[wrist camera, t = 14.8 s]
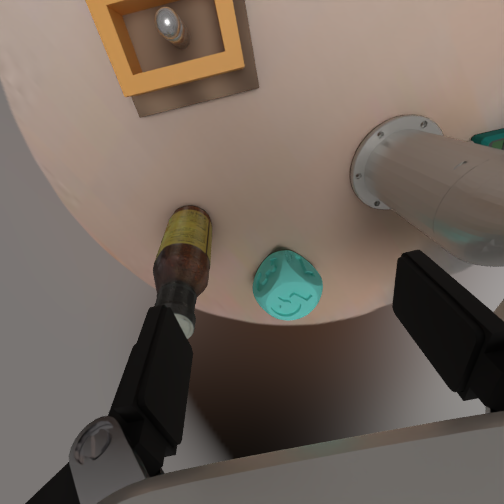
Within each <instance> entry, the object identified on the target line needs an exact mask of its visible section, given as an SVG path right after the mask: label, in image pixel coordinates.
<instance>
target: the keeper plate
mask: <svg viewBox="0 0 504 504" xmlns="http://www.w3.org/2000/svg"><path fill="white" fill-rule="evenodd" d="M233 5H234V11H235V16H236V22H237V27H238V33H239V38H240V43H241V49H242V54H243V60H244V65H245V67H244V68H243V69H240V70H236V71H232V72H228V73H224V74H220V75H216V76H212V77H208V78H204V79H201V80H197V81H193V82H189V83H185V84H181V85H177V86H173V87H169V88H165V89H161V90H157V91H153V92H149V93H145V94H141V95H137V96H131V97H132V99H133V102H134V104H135V107H136V109H137V112H138V114H139V117H144V116H148V115H152V114H156V113H160V112H164V111H168V110H172V109H176V108H180V107H184V106H188V105H192V104H196V103H200V102H204V101H208V100H212V99H216V98H220V97H224V96H228V95H232V94H236V93H240V92H244V91H248V90H252V89H256V88H259V84H258V78H257V72H256V66H255V60H254V54H253V48H252V42H251V36H250V30H249V24H248V18H247V12H246V6H245V0H233ZM122 17H123V20H124V22H125V25H126V28H127V31H128V33H129V36H130V39H131V42H132V44H133V47H134V50H135V53H136V56H137V58H138V61H139V64H140V67H141V69H142V72H147V71H151V70H155V69H158V68H162V67H166V66H170V65H174V64H178V63H182V62H186V61H189V60H193V59H197V58H201V57H205V56H209V55H213V54H217V53H221V52H224V51H225V50H224V45H223V40H222V36H221V31H220V26H219V22H218V17H217V12H216V7H215V3H214V0H179V1H175V2H171V3H167V4H164V5H160V6H156V7H153V8H149V9H145V10H141V11H138V12H134V13H130V14H127V15H123V16H122Z"/></svg>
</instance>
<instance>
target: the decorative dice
mask: <svg viewBox="0 0 504 504" xmlns="http://www.w3.org/2000/svg"><path fill="white" fill-rule="evenodd" d="M322 289H323V284H322V279H321V276H320V275H319V273H318V272H317V270H316V269H315V268H314V267H313V266H312V265H311V264H310V263H309V262H308V261H307V260H305V259H304V258H303V257H302V256H300V255H298V254H297V253H295V252H293V251H290V250H282V251H278V252H274V253H272V254H270V255H269V256H268V257H267V258H266V259H265V260H264V261H263V262H262V264H261V265H260V267H259V269H258V271H257V273H256V275H255V278H254V282H253V293H254V297H255V299H256V301H257V302H258V304H259V305H260V306H261V307H262V308H263V309H264V310H265V311H266V312H267V313H268V314H270V315H271V316H273V317H275V318H277V319H281V320H296V319H299V318H302V317H304V316H306V315H307V314H309V313H310V312H311V311H312V310H313V309H314V308H315V307H316V305H317V304H318V302H319V300H320V297H321V294H322Z"/></svg>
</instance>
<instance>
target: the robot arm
mask: <svg viewBox="0 0 504 504" xmlns="http://www.w3.org/2000/svg"><path fill="white" fill-rule="evenodd" d="M378 133H379V134H378ZM377 134H378V136H377ZM356 175H357V176H356ZM350 178H351V184H352V188H353V190H354V192H355V194H356V195H357V197H358V198H359V199H360V200H361V201H362V202H363V203H365V204H366V205H368V206H370V207H372V208H375V209H382V210H387V209H392V210H393V211H395V212H396V213H397V214H399V215H400V216H401V217H403V218H404V219H405V220H407V221H408V222H409V223H411V224H412V225H413V226H415V227H416V228H417V229H419V230H420V231H421V232H423V233H424V234H425V235H427V236H428V237H429V238H431V239H432V240H433V241H435V242H436V243H437V244H439V245H440V246H441V247H442V248H444V249H445V250H446V251H448V252H449V253H450V254H452V255H454V256H455V257H457V258H458V259H461V260H463V261H465V262H468V263H472V264H475V265H481V266H493V267H497V266H498V267H499V266H504V150H501V149H497V148H493V147H488V146H484V145H480V144H476V143H474V142H473V141H463V140H459V139H454V138H450V137H446V136H444V135H443V133H442V131H441V129H440V128H439V126H438V125H437V124H436V123H435V122H433V121H432V120H430V119H429V118H426V117H423V116H419V115H402V116H398V117H394V118H392V119H390V120H387V121H385V122H384V123H382V124H381V125H379V126H377V127H376V128H375V129H374V130H373V131H372V132H371V133H369V134H368V136H367V137H366V138H365V139H364V140H363V142H362V143H361V145H360V146H359V148H358V150H357V151H356V154H355V156H354V159H353V162H352V166H351V176H350ZM393 311H394V313H395V315H396V316H397V318H398V319H399V320H400V322H401V323H402V324H403V326H404V327H405V328H406V330H407V331H408V333H409V334H410V335H411V337H412V338H413V339H414V341H415V342H416V343H417V345H418V346H419V348H420V349H421V350H422V352H423V353H424V354H425V356H426V357H427V359H428V360H429V361H430V363H431V364H432V365H433V367H434V368H435V369H436V371H437V372H438V373H439V375H440V376H441V377H442V379H443V380H444V382H445V383H446V385H447V386H448V387H449V388H450V389H451V390H452V391H453V392H457V393H458V394H459V396H460V397H461V398H462V400H463V401H466V400H471V399H476V398H479V399H480V400H481V402H482V403H483V404H484V405H485V406H486V413H485V414H481V415H475V416H469V417H462V418H456V419H450V420H444V421H439V422H433V423H428V424H422V425H417V426H412V427H406V428H400V429H394V430H389V431H383V432H378V433H372V434H367V435H361V436H356V437H350V438H345V439H339V440H334V441H329V442H324V443H318V444H312V445H307V446H302V447H296V448H291V449H286V450H280V451H275V452H270V453H265V454H260V455H254V456H249V457H243V458H239V459H233V460H228V461H222V462H218V463H212V464H207V465H203V466H198V467H193V468H188V469H183V470H179V471H174V472H169V473H164V471H163V470H162V468H161V467H162V466H163V461H164V457H167V456H172V455H176V449H177V445H178V444H180V443H181V441H182V435H183V427H184V419H185V412H186V404H187V396H188V388H189V380H190V373H191V365H192V358H193V352H192V348H191V345H190V344H189V342H188V340H187V338H186V336H185V334H184V332H183V330H182V328H181V326H180V324H179V323H178V321H177V319H176V317H175V315H174V313H173V311H172V309H171V308H170V307H166V306H165V305H159V306H154V307H150V308H149V310H148V312H147V315H146V318H145V321H144V324H143V327H142V330H141V332H140V335H139V338H138V341H137V343H136V344H135V345H134V346H133V348H132V351H131V354H130V356H129V359H128V362H127V365H126V367H125V370H124V373H123V376H122V379H121V381H120V384H119V387H118V389H117V392H116V395H115V398H114V401H113V403H112V406H111V409H110V412H109V414H108V416H103V417H100V418H97V419H95V420H94V421H92V422H91V423H89V424H88V425H87V426H86V427H85V428H84V429H83V430H82V431H81V432H80V433H79V435H78V436H77V438H76V439H75V441H74V443H73V445H72V447H71V450H70V453H69V462H68V464H66V465H65V466H64V467H63V468H62V469H61V470H60V471H59V472H58V473H57V474H56V475H55V476H54V477H53V478H52V479H51V480H50V481H49V482H47V483H46V484H45V485H44V486H43V487H42V488H41V489H40V490H39V491H38V492H37V493H36V494H35V495H34V496H33V497H32V498H31V499H30V500H29V501H28V502H27V503H25V504H504V299H503V301H502V302H501V303H500V305H499V306H498V307H497V308H496V310H495V311H494V312H492V311H491V310H490V309H489V308H488V307H486V306H485V305H484V304H483V303H482V302H480V301H479V300H478V299H477V298H476V297H475V296H474V295H472V294H471V293H470V292H469V291H468V290H467V289H465V288H464V287H463V286H462V285H461V284H459V283H458V282H457V281H456V280H455V279H454V278H452V277H451V276H450V275H449V274H448V273H447V272H445V271H444V270H443V269H442V268H441V267H440V266H438V265H437V264H436V263H435V262H434V261H433V260H431V259H430V258H429V257H428V256H427V255H425V254H424V253H423V252H422V251H420V250H415V251H410V252H406V253H403V254H402V255H401V257H400V258H398V260H397V269H396V278H395V287H394V296H393Z"/></svg>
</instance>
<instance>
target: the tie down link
mask: <svg viewBox="0 0 504 504" xmlns="http://www.w3.org/2000/svg"><path fill="white" fill-rule="evenodd" d="M85 1H86V3H87V6H88V8H89V10H90V13H91V15H92V18H93V20H94V23H95V25H96V28H97V30H98V32H99V35H100V37H101V40H102V42H103V45H104V47H105V50H106V52H107V54H108V57H109V59H110V62H111V64H112V67H113V69H114V72H115V74H116V76H117V79H118V81H119V84H120V86H121V89H122V91H123V94H124V96H125V97H129V96H137V95H141V94H145V93H149V92H153V91H157V90H161V89H165V88H169V87H173V86H177V85H181V84H185V83H189V82H193V81H197V80H201V79H204V78H208V77H212V76H216V75H220V74H224V73H228V72H232V71H236V70H240V69H243V68H244V67H245V65H244V60H243V54H242V49H241V43H240V38H239V33H238V27H237V22H236V16H235V11H234V5H233V0H214V3H215V7H216V12H217V17H218V22H219V26H220V31H221V36H222V40H223V45H224V50H225V51H224V52H221V53H217V54H213V55H209V56H205V57H201V58H197V59H193V60H189V61H186V62H182V63H178V64H174V65H170V66H166V67H162V68H158V69H155V70H151V71H147V72H142V69H141V67H140V64H139V61H138V58H137V56H136V53H135V50H134V47H133V44H132V42H131V39H130V36H129V33H128V31H127V28H126V25H125V22H124V20H123V17H122V16H123V15H127V14H130V13H134V12H138V11H141V10H145V9H149V8H153V7H156V6H160V5H164V4H167V3H171V2H175V1H179V0H85Z"/></svg>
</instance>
